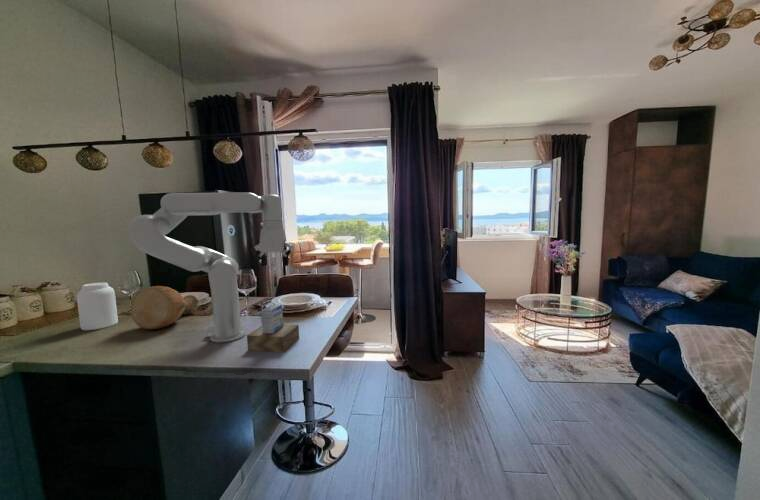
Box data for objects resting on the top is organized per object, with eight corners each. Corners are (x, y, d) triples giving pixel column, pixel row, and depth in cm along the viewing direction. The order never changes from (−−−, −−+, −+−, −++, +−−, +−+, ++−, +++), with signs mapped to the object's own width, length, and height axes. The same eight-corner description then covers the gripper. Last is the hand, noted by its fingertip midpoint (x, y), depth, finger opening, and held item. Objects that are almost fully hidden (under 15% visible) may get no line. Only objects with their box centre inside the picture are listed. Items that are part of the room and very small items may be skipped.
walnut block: (248, 351, 103) (246, 335, 102) (266, 338, 114) (265, 323, 114) (284, 353, 100) (283, 336, 100) (299, 339, 112) (298, 324, 112)
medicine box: (273, 334, 103) (271, 310, 102) (261, 333, 103) (260, 310, 102) (283, 326, 110) (282, 304, 110) (272, 325, 111) (271, 304, 110)
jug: (108, 307, 119) (161, 297, 149) (136, 343, 119) (184, 326, 149) (147, 278, 120) (192, 273, 150) (175, 313, 120) (214, 302, 150)
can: (100, 330, 126) (94, 286, 124) (72, 331, 126) (66, 286, 124) (125, 321, 139) (121, 280, 137) (100, 321, 139) (95, 281, 137)
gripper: (248, 225, 116) (251, 267, 118) (287, 224, 113) (289, 267, 115) (259, 225, 124) (261, 264, 125) (296, 224, 121) (298, 264, 122)
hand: (275, 265), depth 120 cm, fingers open, 9 cm apart
